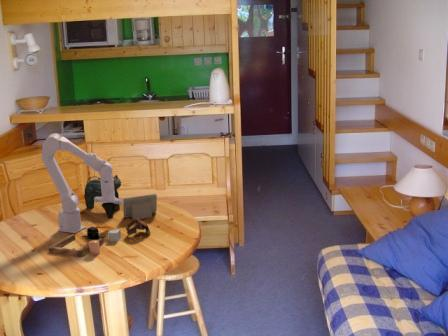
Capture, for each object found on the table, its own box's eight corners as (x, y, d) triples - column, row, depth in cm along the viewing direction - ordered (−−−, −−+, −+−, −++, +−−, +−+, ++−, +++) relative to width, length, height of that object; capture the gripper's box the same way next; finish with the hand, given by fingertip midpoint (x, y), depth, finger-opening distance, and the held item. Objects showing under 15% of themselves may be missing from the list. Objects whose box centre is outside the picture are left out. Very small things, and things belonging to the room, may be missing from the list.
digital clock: (157, 211, 271) (156, 191, 268) (158, 218, 262) (156, 196, 260) (124, 214, 269) (122, 193, 266) (123, 221, 260) (121, 199, 257)
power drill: (124, 209, 277) (120, 170, 272) (117, 213, 271) (113, 173, 266) (90, 205, 284) (86, 167, 279) (82, 209, 278) (78, 171, 273)
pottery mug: (150, 239, 238) (139, 225, 235) (132, 247, 241) (121, 234, 237) (154, 223, 249) (144, 209, 245) (137, 231, 251) (126, 218, 248)
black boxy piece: (77, 237, 243) (76, 227, 242) (91, 232, 249) (90, 222, 248) (96, 243, 236) (95, 233, 235) (109, 238, 241) (108, 228, 240)
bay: (49, 251, 228) (48, 247, 227) (72, 238, 241) (72, 234, 240) (81, 257, 221) (80, 252, 221) (103, 243, 235) (102, 238, 234)
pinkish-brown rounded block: (87, 254, 224) (86, 243, 222) (93, 250, 227) (92, 239, 226) (96, 256, 222) (94, 244, 221) (102, 252, 226) (100, 240, 224)
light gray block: (108, 241, 237) (108, 232, 235) (112, 238, 240) (111, 229, 239) (118, 241, 236) (117, 232, 235) (121, 238, 240) (120, 229, 239)
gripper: (88, 190, 248) (92, 219, 251) (116, 193, 242) (119, 222, 246) (98, 186, 254) (101, 214, 258) (125, 188, 249) (127, 217, 252)
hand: (110, 217), depth 252 cm, fingers closed
